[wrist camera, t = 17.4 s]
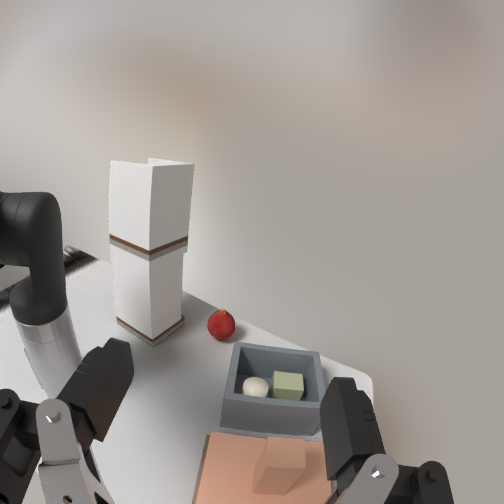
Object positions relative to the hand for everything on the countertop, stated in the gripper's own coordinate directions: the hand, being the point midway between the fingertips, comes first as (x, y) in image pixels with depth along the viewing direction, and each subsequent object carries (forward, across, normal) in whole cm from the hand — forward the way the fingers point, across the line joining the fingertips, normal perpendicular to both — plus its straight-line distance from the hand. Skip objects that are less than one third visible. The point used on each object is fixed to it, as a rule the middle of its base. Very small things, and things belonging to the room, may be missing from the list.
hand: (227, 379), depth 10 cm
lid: (+6, -7, +31) cm, 33 cm away
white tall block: (+40, +20, +32) cm, 55 cm away
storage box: (+24, -7, +32) cm, 40 cm away
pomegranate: (+40, +4, +32) cm, 51 cm away
